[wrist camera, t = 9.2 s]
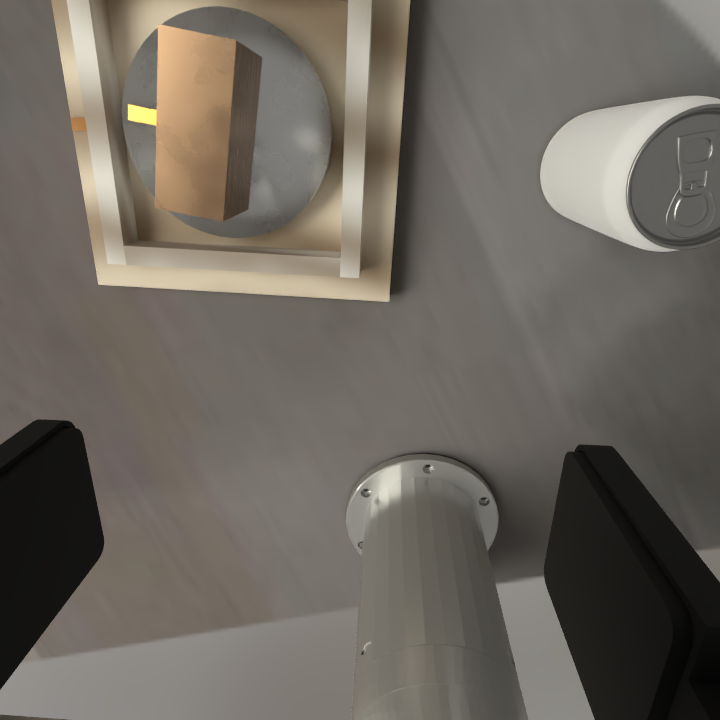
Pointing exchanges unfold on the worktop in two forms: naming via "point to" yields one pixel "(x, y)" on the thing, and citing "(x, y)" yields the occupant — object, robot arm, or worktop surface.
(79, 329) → the worktop surface
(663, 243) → the can
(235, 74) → the dial
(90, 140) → the dial board
